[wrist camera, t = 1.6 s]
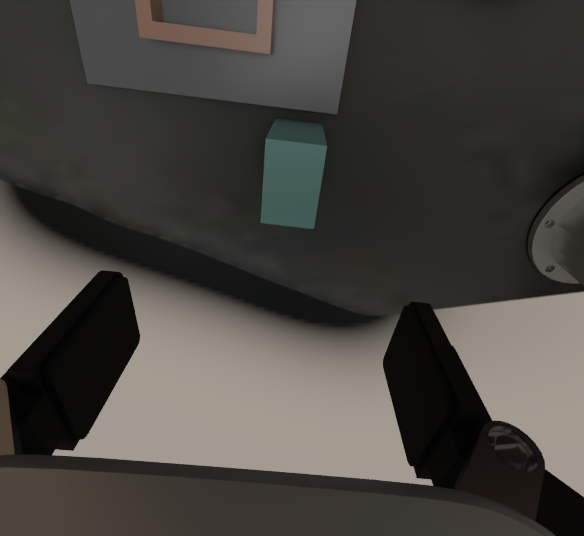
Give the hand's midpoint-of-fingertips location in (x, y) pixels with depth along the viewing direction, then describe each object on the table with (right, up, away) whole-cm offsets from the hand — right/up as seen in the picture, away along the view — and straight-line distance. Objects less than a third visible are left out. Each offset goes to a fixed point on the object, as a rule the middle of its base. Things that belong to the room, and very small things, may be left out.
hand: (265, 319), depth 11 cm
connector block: (+1, +12, +18) cm, 22 cm away
